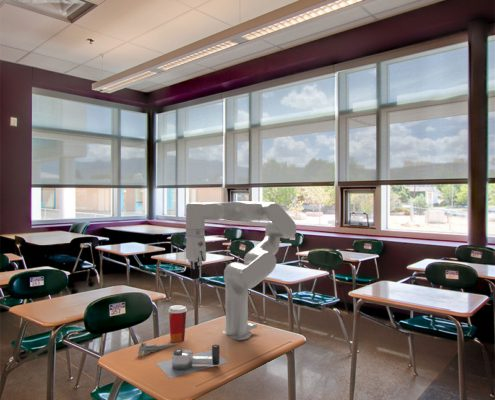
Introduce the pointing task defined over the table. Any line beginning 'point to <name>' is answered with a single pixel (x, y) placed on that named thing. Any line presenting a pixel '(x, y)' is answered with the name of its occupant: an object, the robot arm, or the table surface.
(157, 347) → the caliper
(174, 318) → the paper cup
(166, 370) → the stand
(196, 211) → the robot arm
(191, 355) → the metal crank handle
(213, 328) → the table surface
